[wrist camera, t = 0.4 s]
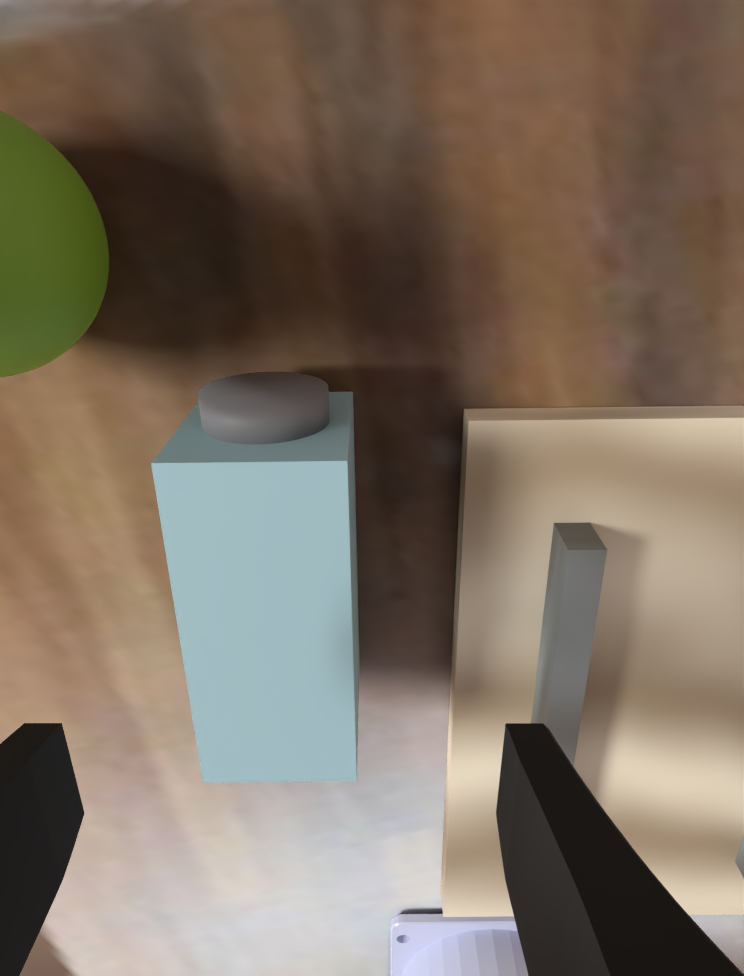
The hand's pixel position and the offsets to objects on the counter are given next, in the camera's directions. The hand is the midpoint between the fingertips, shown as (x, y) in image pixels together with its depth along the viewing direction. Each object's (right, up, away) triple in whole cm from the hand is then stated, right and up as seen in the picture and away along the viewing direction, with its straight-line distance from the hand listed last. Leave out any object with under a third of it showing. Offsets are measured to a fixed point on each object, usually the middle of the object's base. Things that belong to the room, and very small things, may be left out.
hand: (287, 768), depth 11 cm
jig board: (+11, -2, +11) cm, 16 cm away
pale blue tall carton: (-1, +3, +9) cm, 10 cm away
